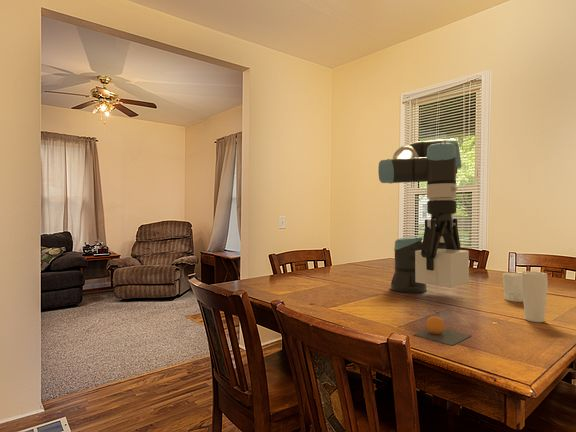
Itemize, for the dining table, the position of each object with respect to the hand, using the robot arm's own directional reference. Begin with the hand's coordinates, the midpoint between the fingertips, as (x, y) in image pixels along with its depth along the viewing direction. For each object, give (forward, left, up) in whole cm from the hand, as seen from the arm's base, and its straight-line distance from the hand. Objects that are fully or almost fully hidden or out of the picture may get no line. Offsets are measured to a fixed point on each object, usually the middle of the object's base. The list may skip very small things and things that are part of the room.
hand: (442, 279), depth 103 cm
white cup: (-2, +60, -16) cm, 62 cm away
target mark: (0, 0, -16) cm, 16 cm away
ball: (-2, 0, -13) cm, 13 cm away
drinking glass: (+12, +35, -16) cm, 40 cm away
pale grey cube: (0, 0, -1) cm, 1 cm away
